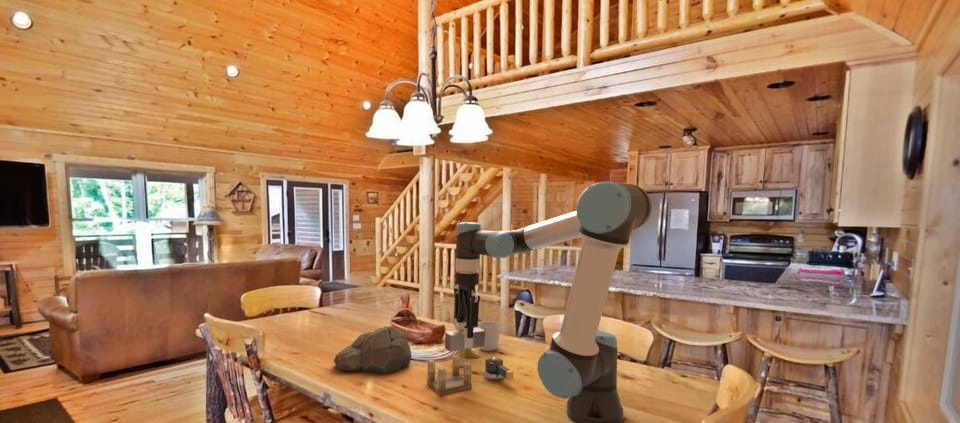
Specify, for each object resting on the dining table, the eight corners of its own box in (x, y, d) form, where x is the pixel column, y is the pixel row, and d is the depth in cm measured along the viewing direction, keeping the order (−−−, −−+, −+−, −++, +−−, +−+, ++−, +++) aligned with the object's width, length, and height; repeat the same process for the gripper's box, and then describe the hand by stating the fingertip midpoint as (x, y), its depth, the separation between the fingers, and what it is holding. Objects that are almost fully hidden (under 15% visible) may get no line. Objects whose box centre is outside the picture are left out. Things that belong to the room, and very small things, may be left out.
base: (507, 378, 141) (507, 372, 141) (491, 382, 137) (491, 376, 137) (496, 371, 146) (496, 366, 146) (481, 375, 143) (481, 369, 143)
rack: (472, 388, 133) (472, 364, 133) (439, 396, 127) (439, 371, 127) (457, 376, 142) (457, 354, 141) (426, 383, 136) (426, 360, 136)
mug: (496, 353, 165) (496, 328, 165) (474, 351, 168) (474, 326, 168) (503, 343, 177) (503, 320, 177) (483, 341, 180) (483, 318, 180)
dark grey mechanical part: (482, 368, 143) (482, 356, 143) (496, 365, 146) (496, 353, 146) (503, 382, 132) (503, 369, 132) (518, 378, 135) (518, 365, 135)
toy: (470, 376, 142) (471, 288, 142) (446, 374, 144) (446, 286, 144) (483, 353, 165) (484, 277, 165) (462, 351, 167) (463, 276, 167)
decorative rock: (326, 372, 145) (328, 327, 146) (356, 355, 166) (358, 317, 167) (398, 378, 140) (400, 332, 141) (420, 360, 161) (421, 321, 162)
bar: (484, 346, 133) (485, 330, 133) (450, 351, 127) (450, 335, 127) (478, 342, 137) (478, 327, 136) (444, 347, 131) (445, 331, 131)
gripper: (491, 275, 126) (488, 352, 126) (465, 266, 141) (462, 335, 141) (469, 277, 122) (467, 356, 123) (444, 267, 137) (442, 338, 137)
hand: (464, 345), depth 132 cm, fingers closed on bar, 4 cm apart
